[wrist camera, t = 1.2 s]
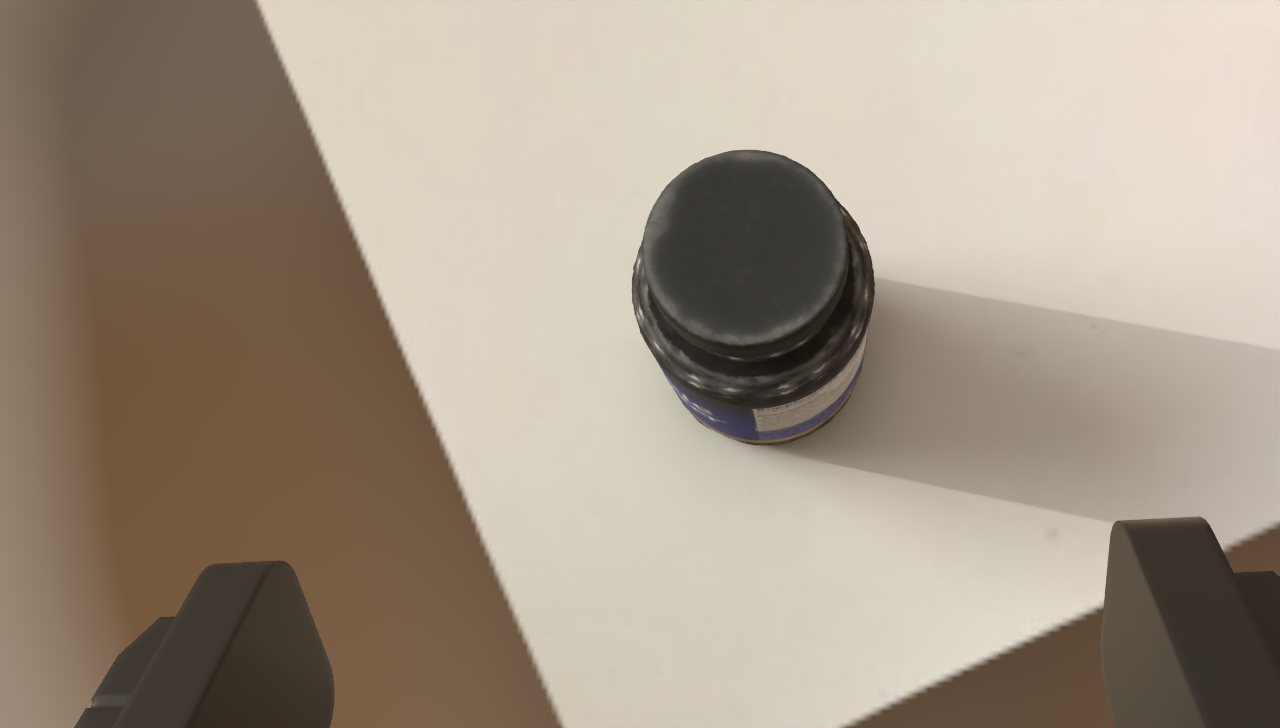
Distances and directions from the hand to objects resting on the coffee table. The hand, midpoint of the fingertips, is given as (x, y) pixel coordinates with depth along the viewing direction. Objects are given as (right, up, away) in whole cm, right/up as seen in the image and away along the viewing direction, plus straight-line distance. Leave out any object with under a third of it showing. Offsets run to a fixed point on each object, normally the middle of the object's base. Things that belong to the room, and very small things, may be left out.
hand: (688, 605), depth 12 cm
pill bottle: (+3, +3, +26) cm, 26 cm away
